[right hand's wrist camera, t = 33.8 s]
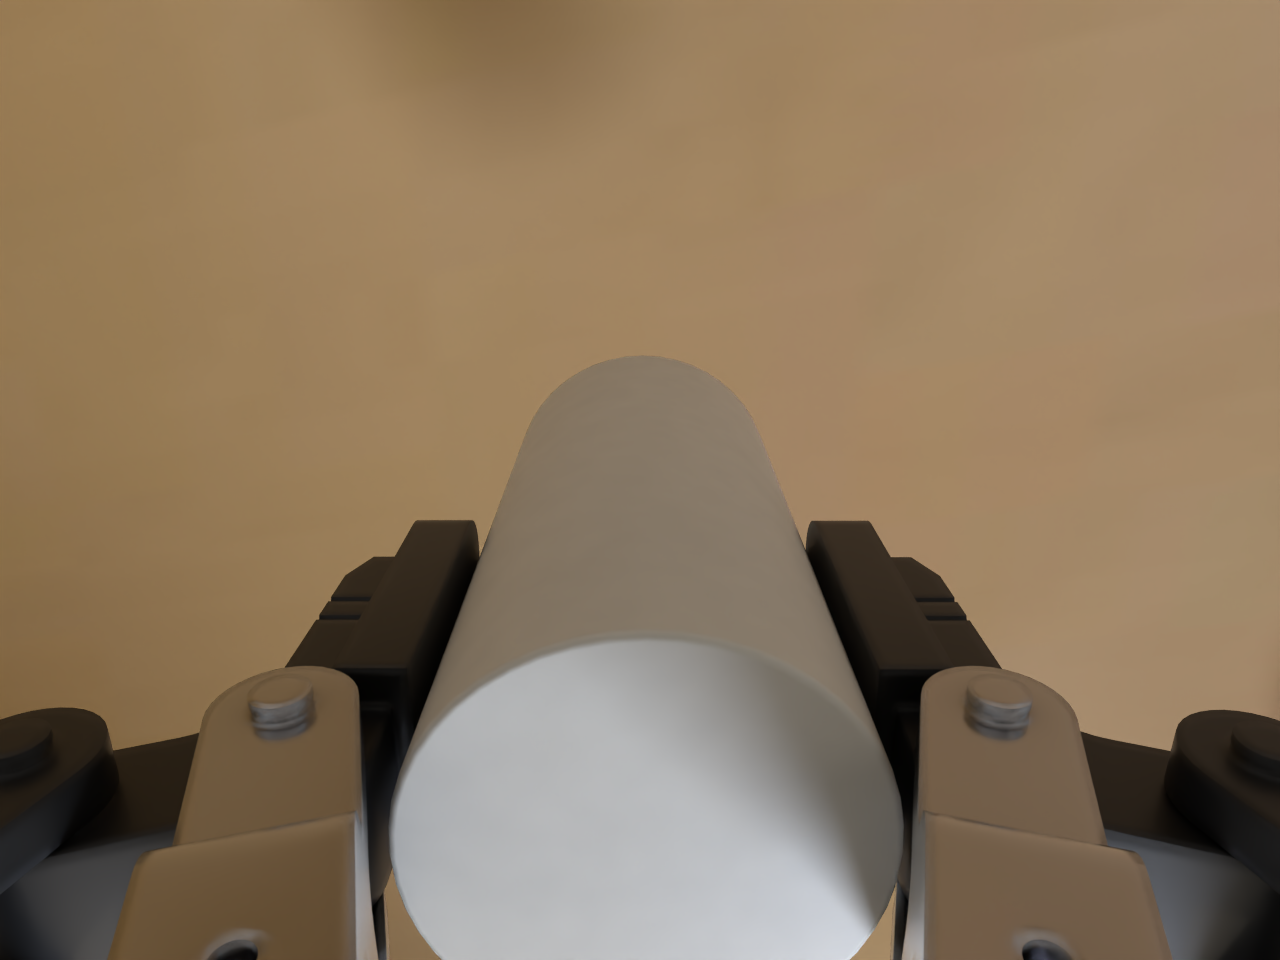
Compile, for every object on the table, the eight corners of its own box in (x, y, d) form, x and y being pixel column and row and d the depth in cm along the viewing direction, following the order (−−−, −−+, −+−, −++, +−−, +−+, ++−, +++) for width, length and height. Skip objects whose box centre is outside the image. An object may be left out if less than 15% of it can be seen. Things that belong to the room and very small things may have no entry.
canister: (753, 338, 15) (898, 599, 7) (774, 569, 17) (913, 1018, 8) (498, 372, 15) (326, 667, 7) (542, 597, 17) (446, 1064, 8)
